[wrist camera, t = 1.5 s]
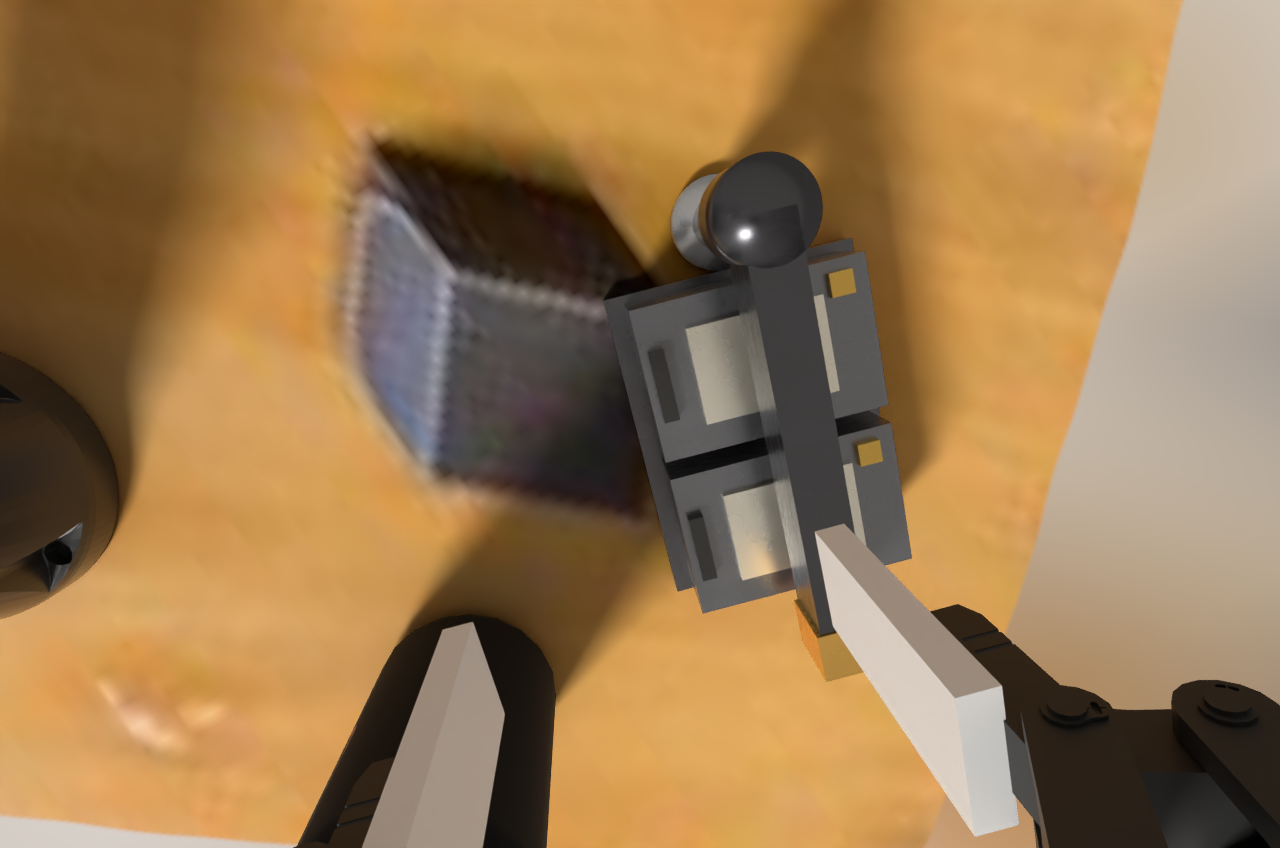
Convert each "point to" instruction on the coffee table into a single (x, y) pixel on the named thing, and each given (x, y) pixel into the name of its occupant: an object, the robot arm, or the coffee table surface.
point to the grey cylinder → (693, 227)
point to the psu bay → (750, 425)
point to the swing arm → (786, 366)
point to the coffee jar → (524, 740)
